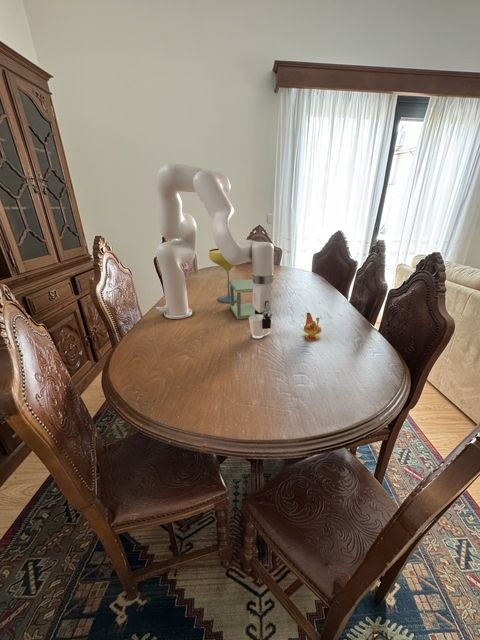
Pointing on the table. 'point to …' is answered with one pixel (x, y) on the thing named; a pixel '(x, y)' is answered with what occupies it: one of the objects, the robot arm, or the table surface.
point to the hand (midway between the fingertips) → (262, 323)
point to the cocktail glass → (220, 260)
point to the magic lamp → (312, 328)
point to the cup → (257, 326)
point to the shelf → (243, 289)
